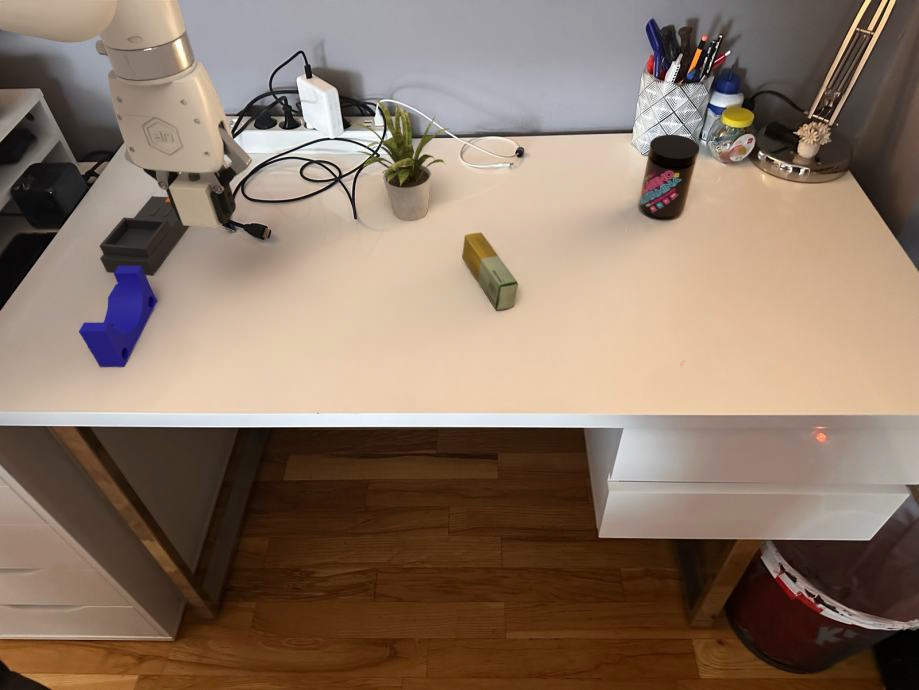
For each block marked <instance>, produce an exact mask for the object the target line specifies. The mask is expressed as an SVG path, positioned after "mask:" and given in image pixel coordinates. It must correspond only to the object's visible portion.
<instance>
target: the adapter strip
mask: <svg viewBox="0 0 919 690" xmlns="http://www.w3.org/2000/svg"><path fill="white" fill-rule="evenodd" d="M189 228H190V226H185V225H183V223H182V221H181V220H178V218H177V215H176V213H175V210H174V209H173V207H172V204H171V202H170V199H169V197H168V196H156V195H151V197H150V198H149V199H148V200H147V201H146V203H144V204H143V206H142V208H141V209H139V211H138V212H137V213H136V215H135V216H134V217H126V216H125V217H123V218H122V219H120V221H119V222H118V223H117V224H116V225H115V227H114V228H113V229H112V230H111V231H110V233H109V234H108V235H107V236H106V237H105V238H104V240H103V241H102V242H101V243H100V245H99V248H100V250H101V251H102V252H101V253H102V255H101V256H100V258H99V259H100V261H101V263H102V265H103V267H104V269H105V271H106V272H107V273H113V274H114V272H115V270H116V269H117V267H118V266H142V269H143V271H144V273H145V275H146V276H155V274H156V273H157V271H158V270H159V268H160V267H161V265H163V263H164V261H165V260H166V259H167V257H168V256H169V254H170V253H171V252H172V250H173V249H174V248H175V246H176V245H177V243H179V241H180V240H181V238H182V237H183V235H184V234H185V233H186V231H187V230H188V229H189Z"/></svg>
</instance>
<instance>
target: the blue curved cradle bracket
mask: <svg viewBox="0 0 919 690" xmlns="http://www.w3.org/2000/svg"><path fill="white" fill-rule="evenodd" d="M113 276H114V277H115V281H116V283H115V285H114V286H113V287H112V290H111V291H110V293H109V295H108V297H107V308H106V314H105V317H104V320H103V321H102V322H99V321H98V322H93V321H92V322H83V324H81V327H80V328H79V329H78V330H79V331H78V333H79V334H80V336H81V338H82V340H83V341H84V343H85V345H86V346H87V348H88V349H89V351H90V353H91V355H92V356H93V358H94V360H95V361H96V363H97V364H98V367H100V368H124V367H126V365H127V362H128V360H129V359H130V357H131V354H132V353H133V350H134V349H135V347H136V344H137V342H138V341H139V339H140V337H141V335H142V333H143V330H144V329H145V327H146V325H147V323H148V321H149V319H150V317H151V315H152V313H153V311H154V309H155V307H156V305H157V303H158V299H157V297H156V294H155V293H154V290H153V288H152V285H151V284H150V281H149V280H148V277H147V275H145V273H144V271H143V269H142V266H118V267H117V269H116V270H115V272H114V273H113Z"/></svg>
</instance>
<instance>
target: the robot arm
mask: <svg viewBox="0 0 919 690" xmlns="http://www.w3.org/2000/svg"><path fill="white" fill-rule="evenodd" d="M0 31H4V32H10V33H14V34H19V35H25V36H29V37H32V38H33V37H34V38H37V39H42V40H48V41H51V42H52V41H54V42H59V43H69V44H70V43H71V44H73V43H82V42H86V41H89V40H92V39H94V38H96V37H98V36H99V37H100V39H97V40H96V42H95V50H96V52H97V53H98V54H99V56H106V57H107V58H108V59H109V63H110V65H111V68H112V69H111V70H110V71H109V72H108V73H107V80H108V86H109V92H110V99H111V102H112V107H113V111H114V115H115V118H116V121H117V124H118V127H119V130H120V134H121V136H122V140H123V143H124V145H125V148H126V149H125V152H124V159H125V160H126V161H127V162H129V163H131V164H133V165H134V166H136V167H138V168H139V169H142V170H143V171H144V173H145V174H147V175H148V176H149V177H151V178H152V179H153V180H155V181H156V182H157V185H158V187H159V188H160V189H161V190H163V191H164V190H165V191H166V194H167V197H169V199H170V202H171V204H172V207H173V209H174V210H175V213H176V215H177V218H178V220H181V218H180V215H179V213H178V210H177V208H176V205H175V202H174V200H173V197H172V195H171V192H170V189H169V186H170V185H171V184H172V183H173V182H174V181H175V179H176V178H177V177H178V176H179V175H180V173H181V172H186V173H204V175H205V177H206V179H207V181H208V182H209V184H210V186H211V188H212V190H213V191H212V192H211V194H210V197H211V200H212V203H213V206H214V209H215V212H216V215H217V218H218V221H219V222H220V225H222V224H223V225H226V224H227V223H228V221H229V220H230V218H231V217H232V216H233V214H234V213H235V211H236V209H237V205H236V200H235V197H234V194H233V190H232V188H231V184H230V183H232V181H233V180H234V178H235V177H237V176H239V175H240V174H241V173H243V172H244V171H245V170H247V169H248V168H249V166H250V165H252V164H251V163H252V162H253V160H252V157H251V156H250V155H249V154H248V153H247V152H246V151H245V150H244V149H243V148H242V147H241V146H240V145H239V144H238V143H237V142H236V141H235V139H233V133H232V130H231V126H230V123H229V120H228V118H227V115H226V112H225V110H224V107H223V105H222V102H221V100H220V97H219V95H218V92H217V90H216V88H215V85H214V83H213V81H212V80H211V77H210V76H209V74H208V72H207V70H206V69H205V67H204V65H203V63H202V62H201V61H197V60H196V57H195V54H194V50H193V47H192V43H191V40H190V37H189V34H188V30H187V28H186V24H185V21H184V17H183V14H182V11H181V8H180V4H179V1H178V0H0ZM225 156H226V157H227V158H228V159H229V160H230V162H229V163H228V164H227V162H226V161H225ZM217 173H218V174H217ZM218 175H219V176H218Z"/></svg>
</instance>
